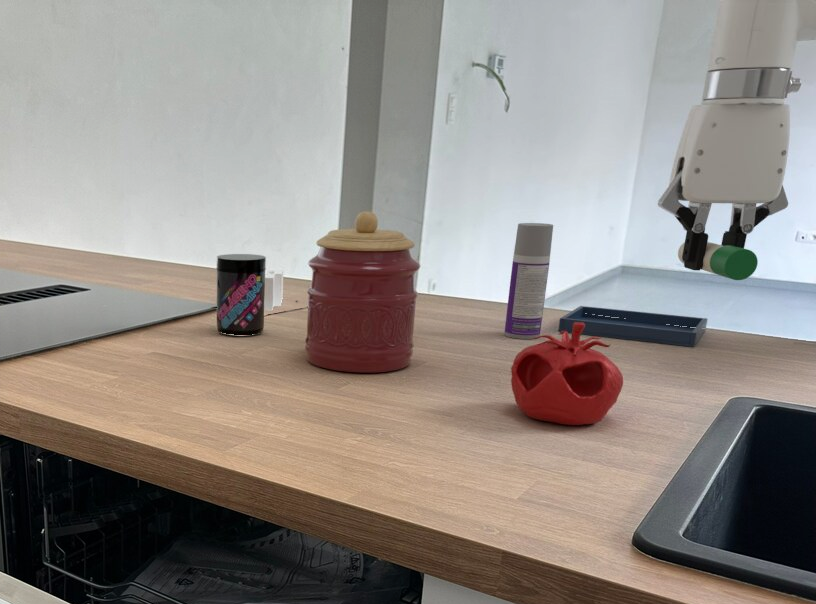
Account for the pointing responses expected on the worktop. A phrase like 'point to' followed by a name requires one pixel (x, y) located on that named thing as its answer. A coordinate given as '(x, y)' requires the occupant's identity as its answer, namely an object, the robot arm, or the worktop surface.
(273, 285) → the napkin holder
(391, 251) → the kitchen canister
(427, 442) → the worktop surface
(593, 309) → the pen tray
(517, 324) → the container
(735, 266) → the marker
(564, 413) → the red hollow tomato
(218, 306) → the supplement container
